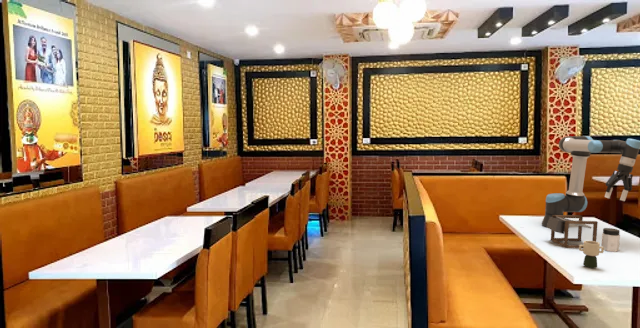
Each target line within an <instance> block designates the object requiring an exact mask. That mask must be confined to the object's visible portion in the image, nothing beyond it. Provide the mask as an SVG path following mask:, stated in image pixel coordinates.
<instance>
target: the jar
mask: <svg viewBox="0 0 640 328" xmlns="http://www.w3.org/2000/svg"><path fill="white" fill-rule="evenodd" d="M620 232H621V231H620V229H616V228H611V227H609V228H608V227H604V228H603V229H602V235H601V246H600V247H604V251H606V252H614V253H616V252H618V251H619V250H620V238H621V235H620Z"/></svg>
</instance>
